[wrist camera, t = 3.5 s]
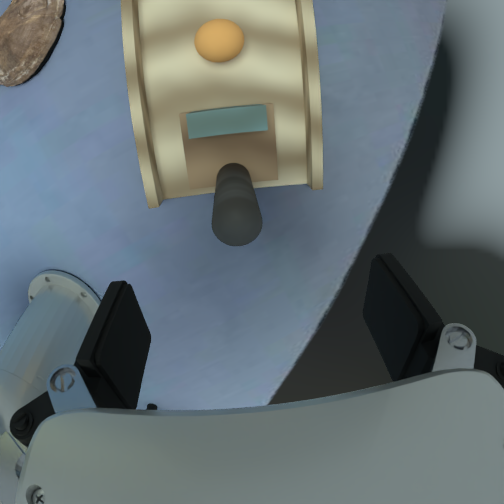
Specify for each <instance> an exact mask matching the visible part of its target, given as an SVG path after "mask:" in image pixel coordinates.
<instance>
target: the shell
mask: <svg viewBox="0 0 504 504" xmlns="http://www.w3.org/2000/svg"><path fill="white" fill-rule="evenodd" d="M65 11H66V5H64V0H12V1H11V4H10V5H9V7H8V8H7V10H6V11H5V12H4V14H3V15H2V16H1V17H0V85H4V86H6V87H9V86H16V85H20V84H22V83H24V82H26V81H27V80H29V79H31V78H32V77H33V76H34V75H36V74H37V73H38V72H39V71H40V69H41V67H42V66H43V65H44V63H45V62H46V61H47V60H48V59H49V57H50V55H51V52H52V51H53V48H54V46H55V45H56V43H57V41H58V40H59V38H60V35H61V33H62V30H63V25H64V22H63V21H62V20H63V18H64V15H65Z"/></svg>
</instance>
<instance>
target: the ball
mask: <svg viewBox="0 0 504 504" xmlns="http://www.w3.org/2000/svg"><path fill="white" fill-rule="evenodd" d="M194 44H195V48H196V50H197V52H198V53H199V55H200V56H201V57H203V58H204V59H206V60H208V61H211V62H217V63H219V62H226V61H229V60H231V59H233V58H234V57H236V56H237V55H238V54H239V53H240V51H241V50H242V48H243V45H244V34H243V32H242V30H241V28H240V27H239V26H238V25H237V24H236V23H234V22H232V21H230V20H227V19H214V20H210V21H208V22H206V23H205V24H203V25H202V26H201V27H200V28H199V29H198V31H197V33H196V35H195V39H194Z"/></svg>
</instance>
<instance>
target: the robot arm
mask: <svg viewBox="0 0 504 504" xmlns="http://www.w3.org/2000/svg"><path fill="white" fill-rule="evenodd" d="M28 299H29V305H28V307H27V308H26V310H25V311H24V313H23V314H22V316H21V318H20V319H19V321H18V322H17V324H16V325H15V327H14V329H13V330H12V332H11V334H10V335H9V337H8V339H7V340H6V342H5V344H4V345H3V347H2V349H1V351H0V504H504V356H503V355H500V354H498V353H495V352H493V351H490V350H487V349H485V348H482V347H479V346H477V345H476V338H475V336H474V334H473V332H472V331H471V330H470V329H469V328H467V327H466V326H464V325H461V324H457V323H453V324H449V325H447V326H445V325H444V324H443V322H442V319H441V318H440V316H439V315H438V313H437V312H436V311H435V309H434V308H433V307H432V305H431V304H430V302H429V301H428V300H427V298H426V297H425V296H424V294H423V293H422V292H421V290H420V289H419V288H418V286H417V285H416V284H415V282H414V281H413V280H412V278H411V277H410V276H409V275H408V273H407V272H406V271H405V269H404V268H403V267H402V266H401V264H400V263H399V262H398V261H397V260H396V258H395V257H394V256H393V255H392V254H391V253H386V254H378V255H377V256H376V258H375V259H373V260H372V263H371V269H370V275H369V281H368V286H367V292H366V297H365V303H364V308H363V317H364V320H365V322H366V324H367V326H368V328H369V330H370V332H371V334H372V337H373V339H374V341H375V343H376V345H377V347H378V349H379V351H380V354H381V356H382V358H383V360H384V362H385V365H386V367H387V369H388V371H389V373H390V376H391V378H392V380H393V381H394V382H391V383H388V384H384V385H380V386H375V387H371V388H367V389H363V390H358V391H354V392H349V393H344V394H339V395H334V396H328V397H323V398H317V399H311V400H305V401H298V402H292V403H284V404H275V405H266V406H257V407H245V408H232V409H214V410H136V407H137V403H138V398H139V393H140V388H141V383H142V378H143V374H144V369H145V365H146V360H147V356H148V351H149V347H150V343H151V334H150V331H149V329H148V326H147V324H146V321H145V319H144V317H143V314H142V312H141V309H140V307H139V304H138V301H137V299H136V296H135V294H134V291H133V288H132V286H131V285H130V284H127V282H126V281H114V282H111V283H110V285H109V287H108V289H107V291H106V293H105V295H104V297H103V299H102V301H101V302H100V300H99V299H98V297H97V296H96V295H95V293H94V292H93V291H92V290H91V289H90V288H89V287H88V286H87V285H86V284H84V283H83V282H82V281H80V280H79V279H77V278H76V277H74V276H72V275H70V274H67V273H64V272H61V271H56V270H48V271H44V272H41V273H39V274H38V275H36V277H35V278H34V279H33V280H32V282H31V284H30V285H29V289H28Z"/></svg>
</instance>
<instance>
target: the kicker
mask: <svg viewBox="0 0 504 504" xmlns="http://www.w3.org/2000/svg"><path fill="white" fill-rule="evenodd" d="M179 118H180V126H181V133H182V140H183V147H184V154H185V161H186V167H187V174H188V180H189V186H190V190H191V189H199V188H207V187H215V186H216V188H215V196H214V206H213V215H212V229H213V232H214V234H215V236H216V237H217V238H218V239H219V240H220V241H221V242H223V243H225V244H227V245H230V246H243V245H246V244H249V243H250V242H252V241H253V240H255V239H256V238H257V236H258V235H259V234H260V232H261V229H262V216H261V213H260V209H259V206H258V202H257V198H256V195H255V191H254V188H253V184H252V182H261V181H271V180H278V166H277V149H276V134H275V119H274V106H273V103H266V104H252V105H241V106H230V107H221V108H213V109H206V110H198V111H192V112H185V113H180V114H179Z"/></svg>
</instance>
